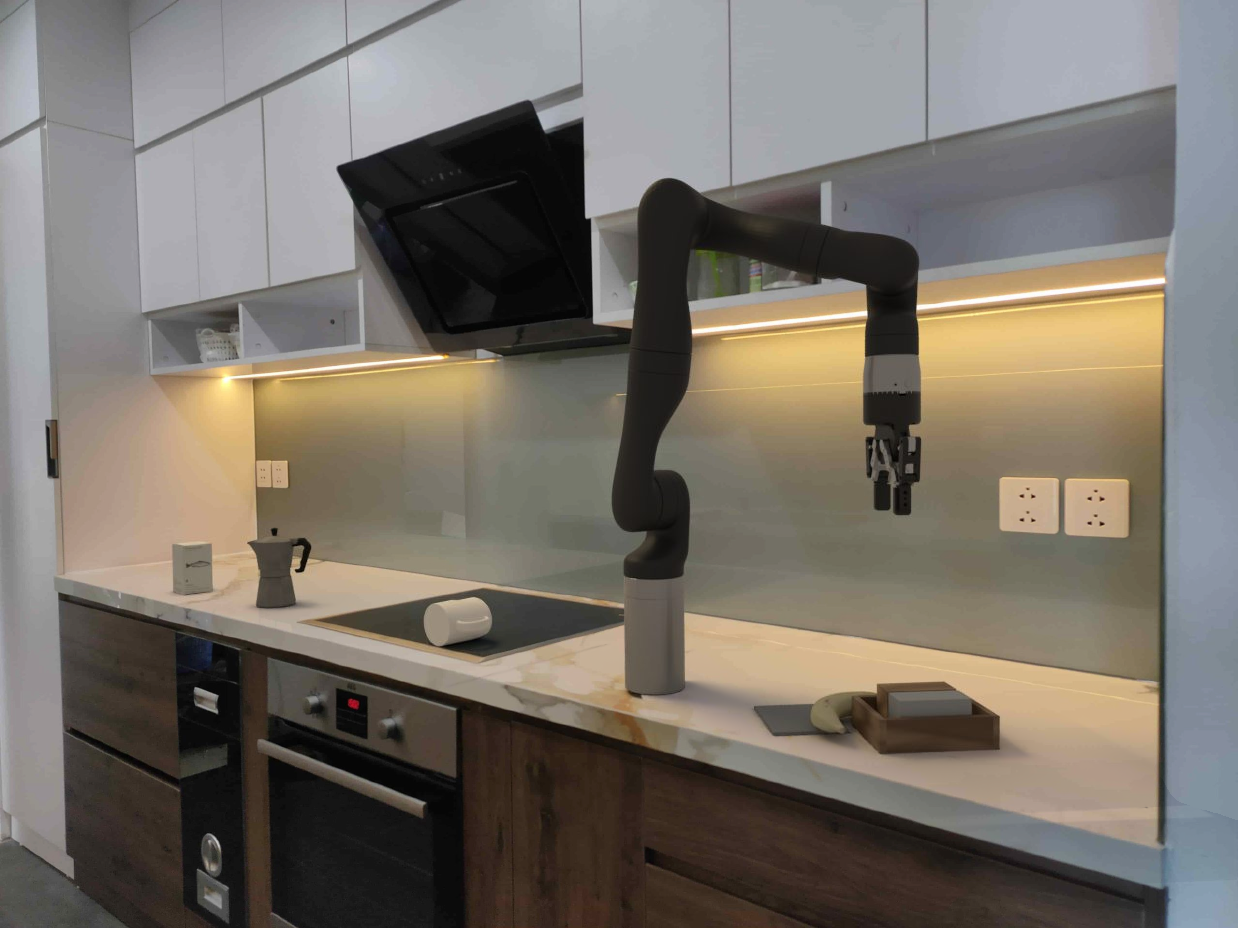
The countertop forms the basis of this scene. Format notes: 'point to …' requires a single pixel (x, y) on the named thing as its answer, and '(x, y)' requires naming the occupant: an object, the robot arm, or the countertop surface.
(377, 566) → the countertop surface
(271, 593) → the coffeepot
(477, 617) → the mug
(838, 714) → the fruit
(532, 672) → the countertop surface
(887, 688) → the offcut teak
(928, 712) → the offcut grey
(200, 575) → the supplement box
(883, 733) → the wooden tray
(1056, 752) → the countertop surface
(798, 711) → the mat
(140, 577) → the countertop surface
